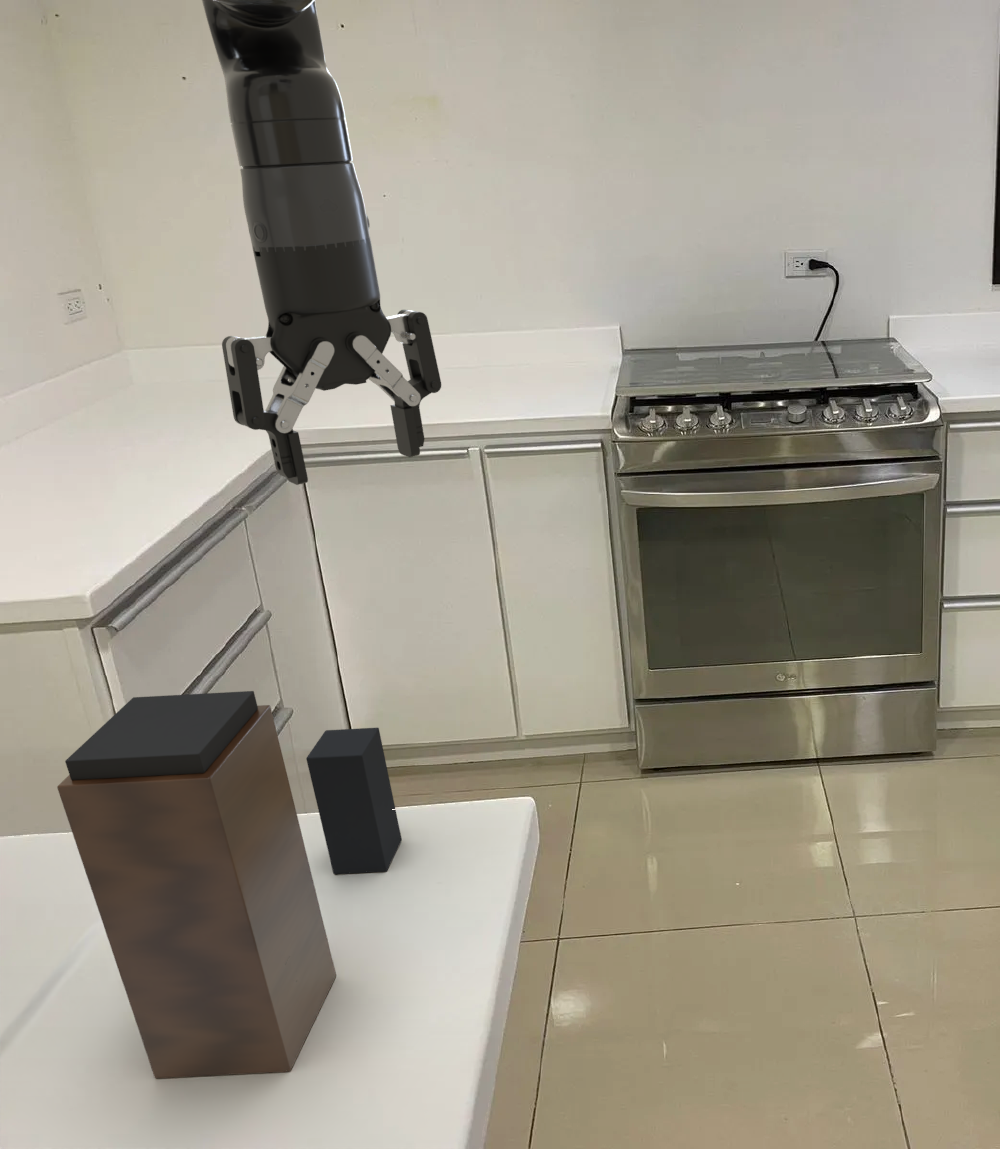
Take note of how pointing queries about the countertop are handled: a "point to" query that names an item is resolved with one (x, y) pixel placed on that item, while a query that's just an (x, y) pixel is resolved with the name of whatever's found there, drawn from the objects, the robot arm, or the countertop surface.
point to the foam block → (354, 800)
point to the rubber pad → (163, 736)
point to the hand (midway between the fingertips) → (355, 468)
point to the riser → (208, 907)
